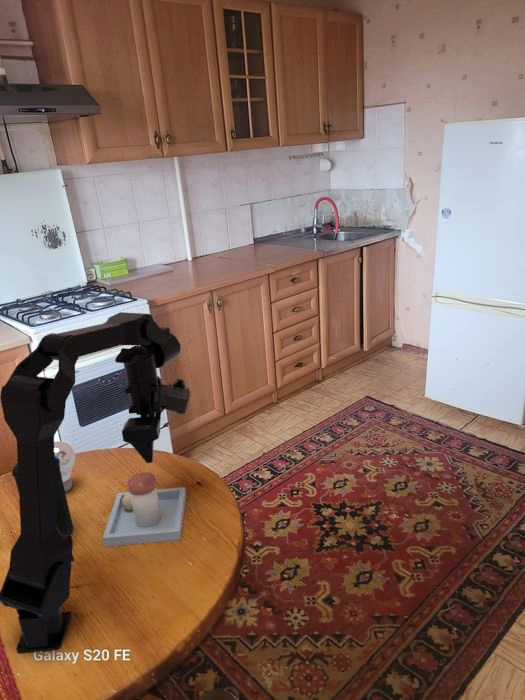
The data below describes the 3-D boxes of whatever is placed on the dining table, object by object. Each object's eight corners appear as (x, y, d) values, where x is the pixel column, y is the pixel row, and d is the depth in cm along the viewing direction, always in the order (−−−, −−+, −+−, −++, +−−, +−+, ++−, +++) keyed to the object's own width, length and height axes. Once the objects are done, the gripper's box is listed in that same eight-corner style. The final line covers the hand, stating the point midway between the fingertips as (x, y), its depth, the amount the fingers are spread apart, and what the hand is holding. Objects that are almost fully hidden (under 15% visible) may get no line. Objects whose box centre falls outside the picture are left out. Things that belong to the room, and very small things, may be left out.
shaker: (159, 526, 103) (153, 486, 100) (132, 529, 103) (125, 489, 100) (162, 509, 108) (156, 471, 105) (137, 511, 108) (130, 473, 105)
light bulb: (66, 479, 122) (55, 433, 118) (88, 486, 119) (78, 438, 114) (41, 496, 116) (29, 448, 112) (64, 504, 113) (53, 454, 109)
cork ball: (137, 512, 108) (135, 499, 107) (121, 513, 108) (119, 500, 106) (140, 502, 111) (137, 489, 110) (124, 504, 111) (122, 491, 109)
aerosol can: (59, 553, 99) (36, 460, 92) (21, 548, 101) (-4, 456, 94) (83, 524, 106) (64, 435, 99) (47, 520, 108) (25, 433, 101)
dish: (180, 542, 99) (178, 531, 98) (104, 549, 99) (102, 538, 98) (186, 497, 112) (185, 487, 112) (119, 503, 112) (117, 492, 111)
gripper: (180, 394, 92) (190, 472, 97) (188, 356, 110) (196, 424, 115) (115, 400, 92) (129, 478, 97) (133, 361, 109) (144, 428, 115)
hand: (153, 450), depth 106 cm, fingers open, 9 cm apart
